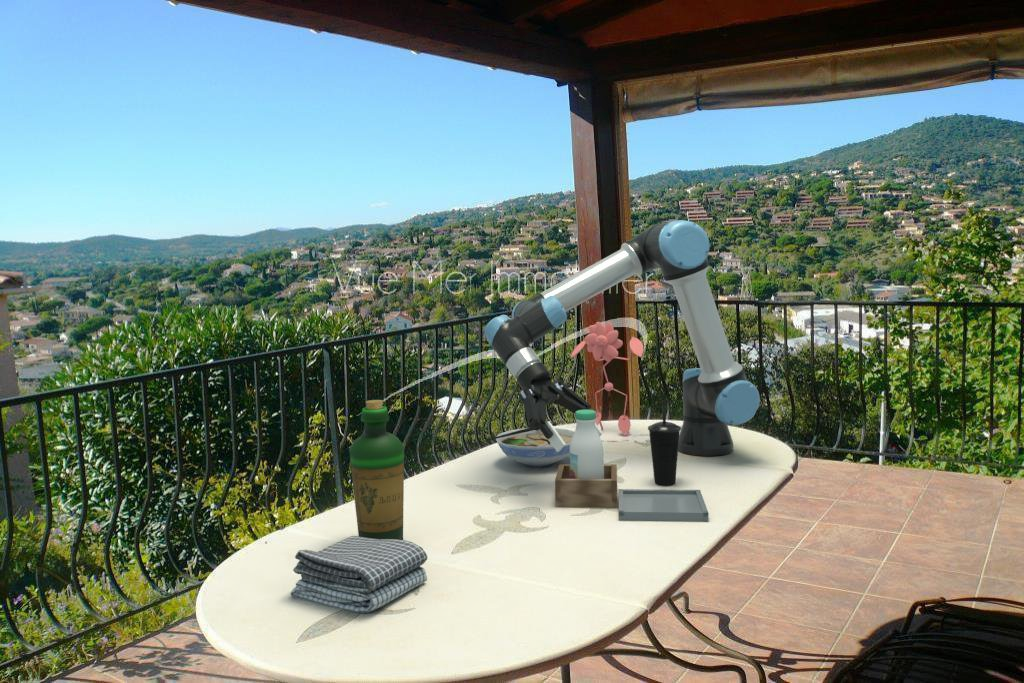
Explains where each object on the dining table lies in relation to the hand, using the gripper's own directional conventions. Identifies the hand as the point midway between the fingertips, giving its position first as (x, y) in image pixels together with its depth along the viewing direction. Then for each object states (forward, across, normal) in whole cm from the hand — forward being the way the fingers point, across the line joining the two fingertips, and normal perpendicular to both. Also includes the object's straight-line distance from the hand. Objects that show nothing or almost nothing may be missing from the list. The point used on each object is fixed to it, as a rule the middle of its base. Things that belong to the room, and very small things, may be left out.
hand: (580, 442), depth 176 cm
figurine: (-14, -54, -32) cm, 64 cm away
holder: (+10, -1, -8) cm, 13 cm away
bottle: (0, +46, -19) cm, 50 cm away
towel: (+10, +62, -9) cm, 64 cm away
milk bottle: (+10, -1, -8) cm, 13 cm away
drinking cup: (+15, -21, -3) cm, 26 cm away
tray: (+22, -4, +4) cm, 23 cm away
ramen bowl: (-10, -17, -29) cm, 35 cm away
